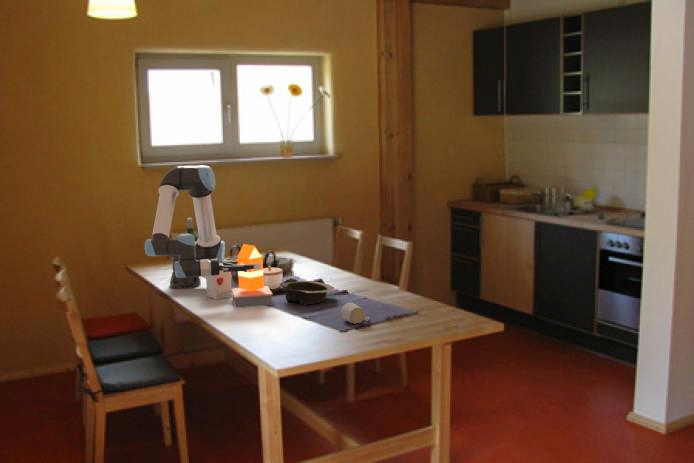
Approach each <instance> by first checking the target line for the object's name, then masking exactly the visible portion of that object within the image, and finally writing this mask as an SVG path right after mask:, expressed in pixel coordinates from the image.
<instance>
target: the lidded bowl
mask: <svg viewBox="0 0 694 463" xmlns="http://www.w3.org/2000/svg"><path fill="white" fill-rule="evenodd" d="M283 270H284V269H282V268H280V267H271V266H270V265H269V266H268V267H263V283H264V286H268V288H269V289H275V288H278V289H279V287H280V286H281V285H280V283H283V282H282V281H283V273H284V271H283ZM275 290H276V289H275Z"/></svg>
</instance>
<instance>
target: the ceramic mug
mask: <svg viewBox="0 0 694 463" xmlns="http://www.w3.org/2000/svg"><path fill="white" fill-rule="evenodd" d="M340 314H341V318H342V319H343V320H345V321H346V322H349V323H350V324H352V323H353V324H354V325H357V324H356V323H359V324H361V323H363V321H365V322H369V321H368V320H370V317H369V316H367V315H366V313H365V310H364V309H363V308H361V307H360V306H359V305H357V304H355V303H354V302H351V301H350V302H346V303H344V305H343V306H342V308H341V311H340Z"/></svg>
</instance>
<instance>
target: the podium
mask: <svg viewBox="0 0 694 463" xmlns="http://www.w3.org/2000/svg"><path fill="white" fill-rule="evenodd" d="M231 291H232V301H233V303H234V305H235V308H237V309H238V308H246V307H247V308H248V307H258V306H261V307H262V306H268V305H269V306H270V305H273V302H272V301H273V300H272V296H273V295H274V294H273V292H272V290H270V289H269V288H268V286H264V288H262V289H258V290H253V291H248V290H244V289H240V288H239V287H237V288H236V287H235V288H232V289H231Z"/></svg>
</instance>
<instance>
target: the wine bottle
mask: <svg viewBox="0 0 694 463" xmlns="http://www.w3.org/2000/svg"><path fill="white" fill-rule="evenodd" d="M186 223H187V226H186V227H187V233H186V234H193V235H194V239H195V242H197V239H198V238H199V236H198V235H197V234H195V233H194V226H193V217H187V219H186Z"/></svg>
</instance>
